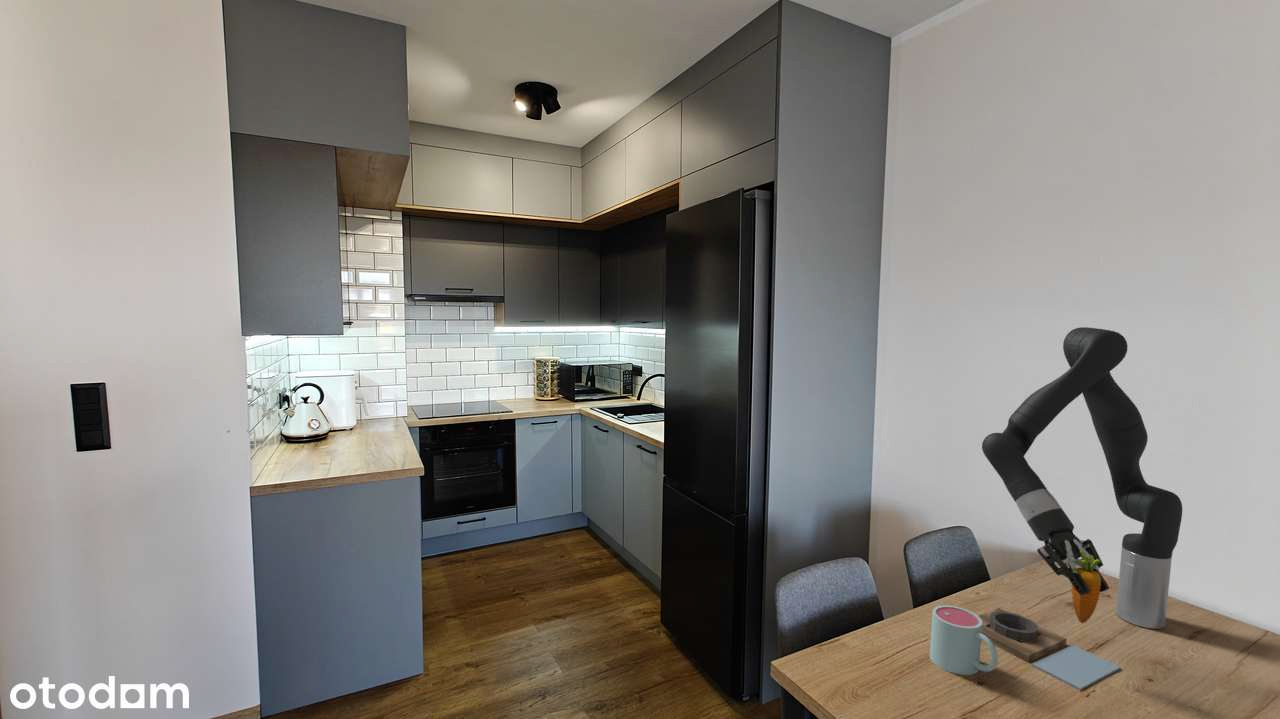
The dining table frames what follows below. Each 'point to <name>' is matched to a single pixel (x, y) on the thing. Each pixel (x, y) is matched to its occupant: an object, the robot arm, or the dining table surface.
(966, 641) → the mug
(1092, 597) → the carrot
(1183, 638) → the dining table surface
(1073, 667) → the slate mat
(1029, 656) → the ring stand
